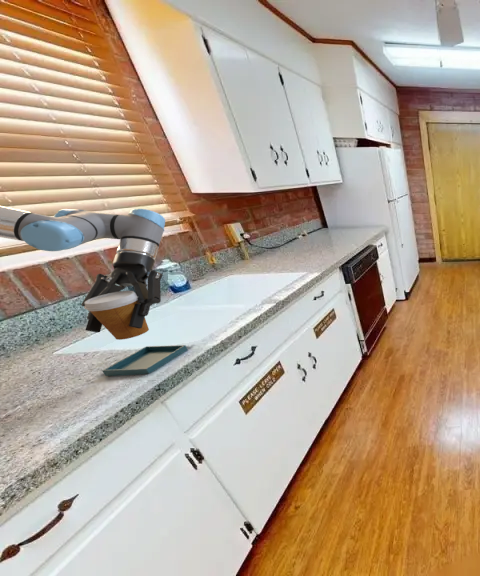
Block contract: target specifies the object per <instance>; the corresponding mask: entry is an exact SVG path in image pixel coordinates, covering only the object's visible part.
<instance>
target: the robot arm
mask: <svg viewBox="0 0 480 576" xmlns="http://www.w3.org/2000/svg"><path fill="white" fill-rule="evenodd" d="M165 225H166V219H165V217H164V216H163V215H162V214H161V213H158V212H156V211H153V210H150V209H146V208H133V209H130V210H129V212H128V213H127V214H115V213H109V212H98V211H91V210H85V209H72V208H71V209H68V208H63V209H59V210H58V211H57V212H56V213H55V214H54V215H53V216H51V215H45V214H41V213H35V212H31V211H27V210H23V209H22V210H21V209H17V208H14V207H13V208H12V207H7V206H3V205H0V238H3V239H9V240H15V241H20V242H24V243H25V244H27V246H30V247H33V248H35V249H37V250H39V251H43V252H61V251H66V250H70V249H74V248H77V247H78V246H81V245H83V244H86V243H89V242H93V241H95V240H98V239H111V240H119V243H118V247H117V248H116V250H115V252H116V254H114V258H113V261H112V267H113V270H112V271H111V272H110V273H108V274H107V273H106V274H103V273H97V274H96V276H95V282H94V283H93V285H92V286H91V288H90V289H89V291H88V293H86V296H85V297H84V298H83V301H81V304H80V306H81V307H83V308H84V307H85V303H84V302H85V301H87V300H88V299H91V298H94V297H97V296H100V295H104V294H108V293H113V292H120V291H124V290H125V289H126V288H127V287H133V291H134V292H135V293H136V295H137V297H138V300H139V301H138V303H140V304H135V306H134V310H133V313H132V316H131V320H130V323H129V326H130V327H134V328H142V325H143V322H144V318H145V319H146V317H147V316H148V315H149V313H150V308H151V306H152V305H154V304H160V303H161V302H162V301H161V297H162V294H161V293H162V292H161V280H162V278H163V273H161V272H159V271H156V270H154V266H155V264H156V263H155V262H156V258H157V255H158V252H159V248H160V244H161V242H162V241H161V240H162V237H163V235H164V232H165ZM146 280H147V282H146ZM86 319H87V323H86V326H85V329H84V330H85V331H86V332H92V333H96V334H97V333H101V330H102V327H103V324H102V323H101V322H100V321H99V320H98V319H97V318H96V317H95V316H94V315H93V314H92V313H91V312H90V311H88V314H87V316H86Z"/></svg>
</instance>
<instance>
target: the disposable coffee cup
mask: <svg viewBox="0 0 480 576" xmlns="http://www.w3.org/2000/svg"><path fill="white" fill-rule="evenodd" d="M138 301H139V300H138V297H137V295H136V292H135V290H120V291H119V292H113V293H108V294H104V295H100V296H97V297H94V298H91V299H88V300H87V301H85V302H84V303H85V307H84V306H83V308H84V310H87V311H88V312H89V311H90V312H91V313H92V314H93V315H94V316H95V317H96V318H97V319H98V320H99V321H100V322H101V323H102V327H104V328H105V329H106V330H107V331H108V332H109V334H111V335H112V336H113V337H114V339H115V340H120V341H121V340H128V339H131V338H136V337H139V336H141V335H143V334H144V335H145V334H146V333H147V332H148V331H149V330H150V329H149V325H148V323H147V320H146V317H145V318H144V322H143V325H142V328H134V327H130V326H129V323H130V320H131V316H132V313H133V310H134V306H135V304H141V303H138Z"/></svg>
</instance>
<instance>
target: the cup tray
mask: <svg viewBox="0 0 480 576" xmlns="http://www.w3.org/2000/svg"><path fill="white" fill-rule="evenodd" d="M187 351H189V349H188V347H187V346H186V344H178V345H175V344H174V345H147V346H144V347H142V348H141V349H138V350H137V351H135V352H133V353H131V354H129V355H127V356H126V357H124V358H122V359H121V360H119V361H117V362H114V363H113V364H111V365H109V366H108V367H106V368H104V369H102V370H101V371H102V374H103V375H104V376H105V377H114V376H115V377H120V376H135V375H137V376H138V375H149V374H151V373H153V372H154V371H156V370H157V369H160V368H161V367H163V366H164V365H166V364H168V363H169V362H171V361H172V360H174V359H176V358H177V357H179V356H181V355H182V354H184V353H185V352H187Z"/></svg>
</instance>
